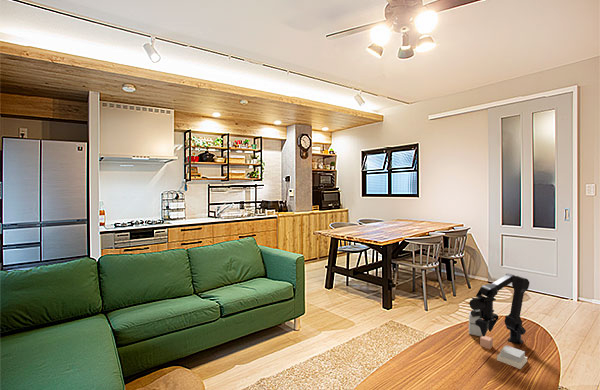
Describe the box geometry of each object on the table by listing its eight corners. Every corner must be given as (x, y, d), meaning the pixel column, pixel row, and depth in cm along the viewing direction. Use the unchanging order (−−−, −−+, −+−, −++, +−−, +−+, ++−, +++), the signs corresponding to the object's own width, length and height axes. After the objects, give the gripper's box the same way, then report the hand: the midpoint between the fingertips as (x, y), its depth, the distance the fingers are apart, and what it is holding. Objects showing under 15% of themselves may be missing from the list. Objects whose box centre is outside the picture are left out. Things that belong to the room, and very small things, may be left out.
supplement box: (468, 334, 202) (469, 314, 201) (468, 329, 208) (469, 310, 208) (482, 337, 198) (482, 317, 198) (481, 332, 205) (481, 312, 204)
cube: (483, 343, 191) (483, 335, 191) (492, 346, 187) (492, 338, 187) (480, 346, 188) (480, 337, 187) (489, 349, 184) (489, 340, 184)
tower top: (505, 350, 178) (505, 345, 178) (524, 357, 171) (524, 351, 171) (500, 356, 172) (500, 350, 172) (519, 363, 165) (519, 357, 165)
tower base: (504, 354, 180) (504, 349, 179) (527, 362, 171) (527, 357, 171) (496, 361, 173) (497, 355, 172) (520, 370, 164) (520, 364, 164)
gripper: (479, 300, 198) (478, 324, 199) (466, 307, 187) (465, 333, 187) (498, 305, 190) (498, 330, 190) (486, 313, 178) (486, 340, 179)
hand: (486, 333), depth 187 cm, fingers open, 9 cm apart
